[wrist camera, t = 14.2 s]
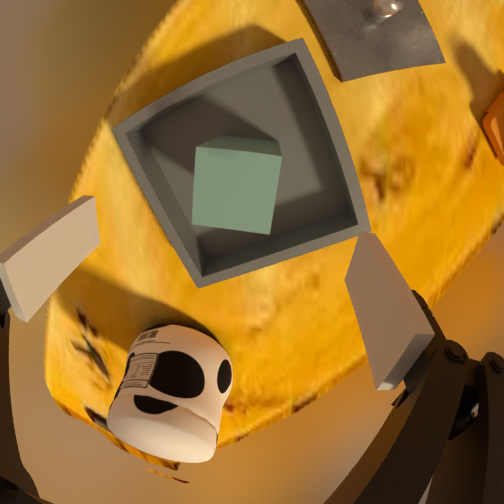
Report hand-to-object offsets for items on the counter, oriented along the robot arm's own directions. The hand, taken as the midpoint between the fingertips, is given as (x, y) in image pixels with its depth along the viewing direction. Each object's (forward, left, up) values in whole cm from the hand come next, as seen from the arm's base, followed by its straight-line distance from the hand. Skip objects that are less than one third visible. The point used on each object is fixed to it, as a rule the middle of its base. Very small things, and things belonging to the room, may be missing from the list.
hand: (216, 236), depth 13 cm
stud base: (-20, -12, -19) cm, 30 cm away
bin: (0, 0, -19) cm, 19 cm away
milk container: (+22, +24, -19) cm, 38 cm away
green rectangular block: (0, 0, -18) cm, 18 cm away
